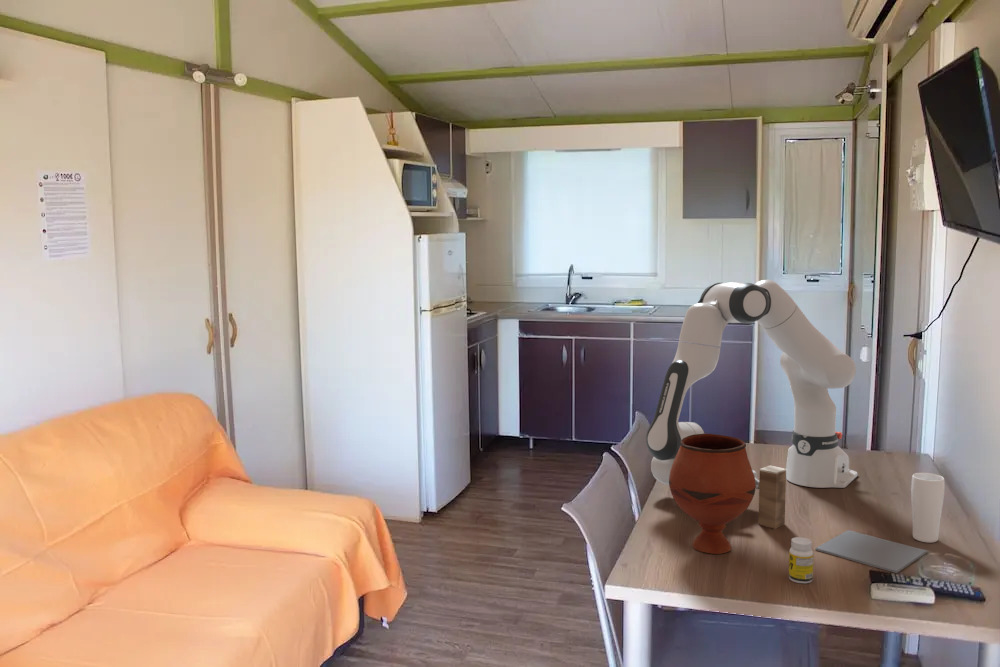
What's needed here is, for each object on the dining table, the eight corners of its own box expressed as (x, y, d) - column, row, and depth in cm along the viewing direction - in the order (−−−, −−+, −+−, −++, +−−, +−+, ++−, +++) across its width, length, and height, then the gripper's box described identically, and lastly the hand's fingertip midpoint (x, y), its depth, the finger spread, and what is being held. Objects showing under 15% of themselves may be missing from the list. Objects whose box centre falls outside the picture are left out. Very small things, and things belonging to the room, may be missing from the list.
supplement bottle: (788, 573, 178) (789, 535, 176) (811, 575, 176) (813, 537, 175) (788, 582, 173) (790, 543, 172) (813, 585, 172) (814, 545, 171)
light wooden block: (768, 519, 210) (769, 465, 208) (784, 524, 207) (786, 468, 205) (758, 524, 207) (759, 469, 205) (775, 528, 204) (776, 472, 202)
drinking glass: (948, 543, 193) (951, 480, 191) (921, 545, 191) (924, 481, 190) (928, 533, 199) (931, 471, 197) (902, 535, 198) (905, 473, 196)
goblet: (679, 527, 206) (680, 427, 202) (760, 538, 197) (763, 435, 194) (659, 555, 188) (659, 446, 185) (747, 569, 180) (749, 455, 177)
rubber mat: (848, 532, 201) (848, 530, 201) (927, 552, 187) (927, 550, 187) (815, 550, 190) (815, 547, 190) (896, 573, 177) (896, 571, 177)
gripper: (682, 475, 212) (730, 487, 202) (728, 459, 226) (775, 469, 216) (682, 499, 213) (730, 512, 203) (727, 482, 227) (774, 493, 217)
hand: (753, 490), depth 210 cm, fingers open, 8 cm apart
